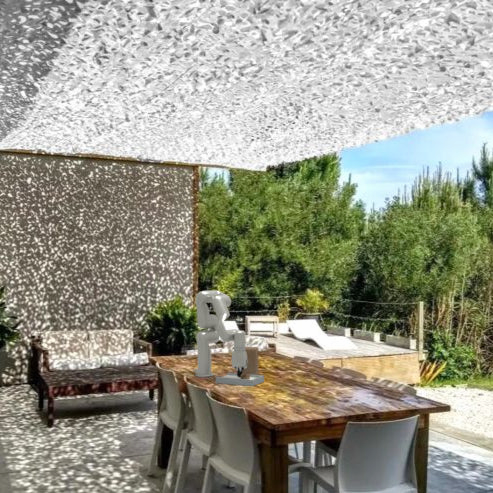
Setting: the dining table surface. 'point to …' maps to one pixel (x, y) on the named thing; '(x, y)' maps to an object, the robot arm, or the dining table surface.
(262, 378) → the trap box
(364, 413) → the dining table surface
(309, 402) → the dining table surface
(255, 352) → the block
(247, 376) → the walnut block
